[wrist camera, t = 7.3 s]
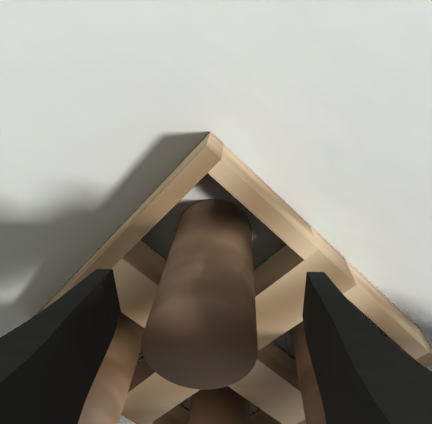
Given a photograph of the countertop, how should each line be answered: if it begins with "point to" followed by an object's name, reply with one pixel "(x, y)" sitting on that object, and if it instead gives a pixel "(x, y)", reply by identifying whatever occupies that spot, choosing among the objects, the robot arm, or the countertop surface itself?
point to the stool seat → (265, 311)
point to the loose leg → (205, 301)
